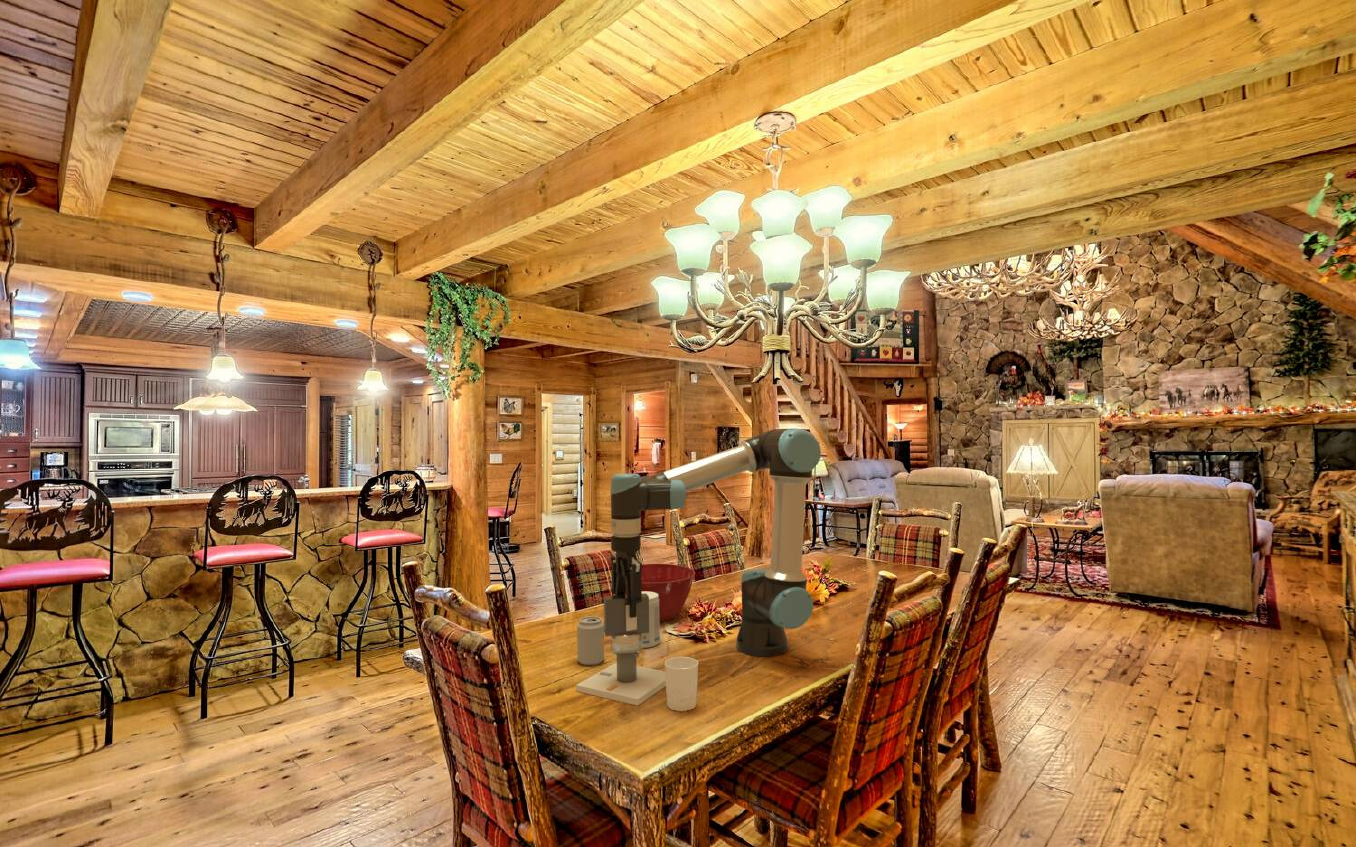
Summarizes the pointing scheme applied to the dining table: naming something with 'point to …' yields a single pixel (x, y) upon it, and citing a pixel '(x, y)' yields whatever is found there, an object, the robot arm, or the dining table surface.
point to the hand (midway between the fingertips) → (626, 626)
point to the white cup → (681, 683)
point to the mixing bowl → (668, 586)
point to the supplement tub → (652, 622)
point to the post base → (624, 689)
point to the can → (590, 640)
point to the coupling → (624, 624)
